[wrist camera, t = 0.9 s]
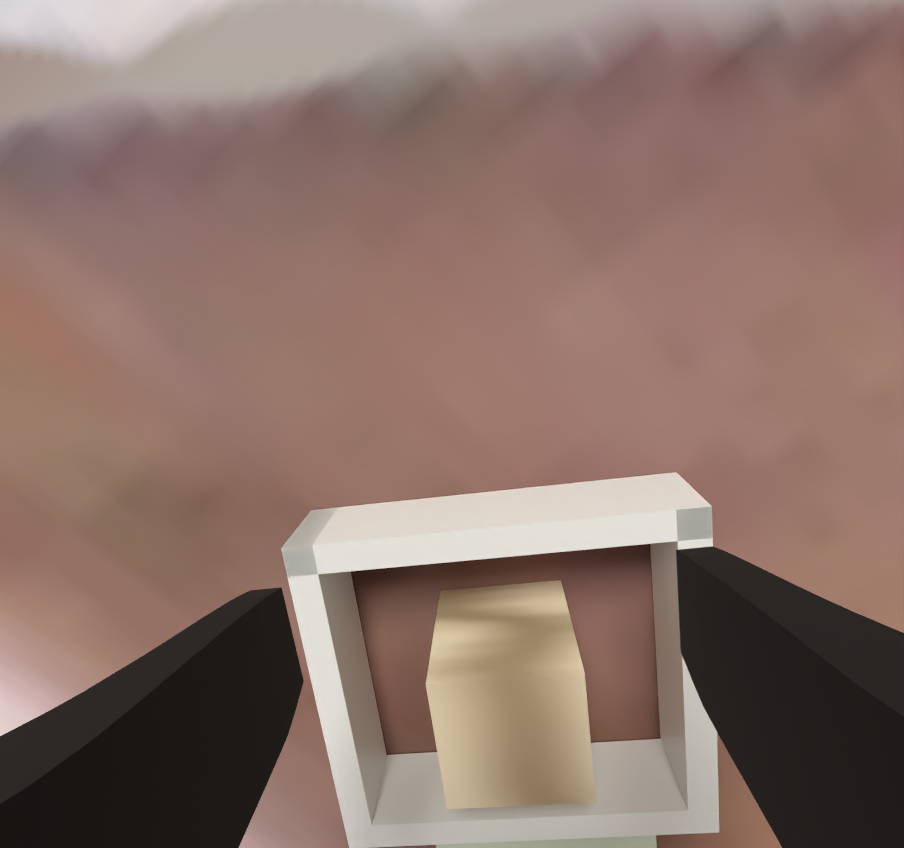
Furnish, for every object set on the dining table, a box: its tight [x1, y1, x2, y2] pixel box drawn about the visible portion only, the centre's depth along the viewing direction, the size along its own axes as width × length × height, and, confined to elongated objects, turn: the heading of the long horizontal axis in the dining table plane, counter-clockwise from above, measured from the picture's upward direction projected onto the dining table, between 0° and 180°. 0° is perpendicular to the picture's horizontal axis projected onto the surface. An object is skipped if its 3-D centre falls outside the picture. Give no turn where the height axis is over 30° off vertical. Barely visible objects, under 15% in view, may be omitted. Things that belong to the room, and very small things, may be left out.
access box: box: [281, 472, 719, 848], centre depth 19 cm, size 13×12×3 cm
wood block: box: [426, 580, 596, 809], centre depth 18 cm, size 4×4×5 cm
